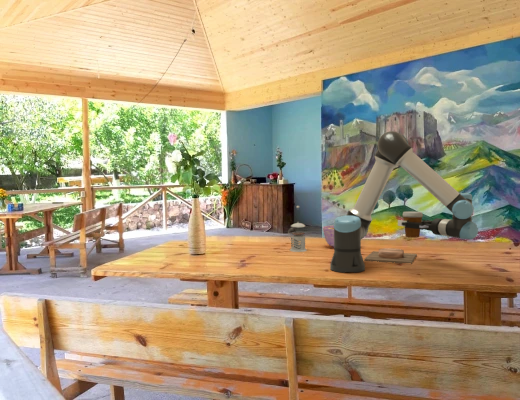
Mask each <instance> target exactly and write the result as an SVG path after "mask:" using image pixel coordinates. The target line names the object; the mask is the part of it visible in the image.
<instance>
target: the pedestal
mask: <svg viewBox="0 0 520 400" xmlns="http://www.w3.org/2000/svg"><path fill="white" fill-rule="evenodd" d="M417 256H418V254H417V253H409V252H404V249H400V248H396V247H395V248H394V247H393V248H392V247H387V248H386V247H384V248H379V249H378V251H377V250H376V251H375V250H374V251H371V252H370V253H369V254H368V255H367V256H366V257H365V258H363V261H364V262H373V261H377V262H376V263H387V262H392V264H402V263H411V264H410V265H412V264H413V263H414V261H415V260H416V258H417ZM415 257H416V258H415ZM414 259H415V260H414ZM378 261H379V262H378ZM394 262H395V263H394ZM412 262H413V263H412Z"/></svg>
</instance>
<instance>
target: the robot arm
mask: <svg viewBox="0 0 520 400" xmlns="http://www.w3.org/2000/svg"><path fill="white" fill-rule="evenodd" d="M413 150H414V149H413V147H411V145H409V141H408V139H407V138H406V136H405V135H403V134H401V133H400V132H397V131H394V130H393V131H391V130H390V131H386V132H385V133H382V134H381V135H380V137H379V138H378V141H377V150H376V153H375V154H374V159H375V162H374V164H373V166H372V168H371V171H370V173H369V174H368V177H367V178H366V181H365V183H364V185H363V187H362V190H361V192H360V193H359V195H358V198H357V200H356V202H355V204H354V206H353V207H352V208H349V209H348V211H347V213H346V215H342V216H337V217H335V219H334V220H333V222H334V223H333V225H334V248H333V255H332V256H331V257H332V258H331V261H330V264H329V265H330V270H331V271H332V272H333V271H334V272H338V273H345V272H354V273H361V272H364V271H365V270H366V264H365V261H364V258H363V254H362V252H361V251H362V250H361V249H362V248H361V245H362V240H363V239H364V238H365V237H366V236H367V234H368V231H369V227H370V225H371V223H372V221H373V218H372V214H373V212H374V209H375V208H376V205H377V203H378V202H379V199H380V197H381V196H382V193H383V191H384V189H385V187H386V184H387V183H388V180H389V179H390V177H391V174H392V172H393V171H394V169H396V168H398V167H399V166H400V168H402V169H403V170H404V171H405V172H406V173H408V174H409V175H410V176H411V177H412V178H413V179H414V180H415V181H417V182H418V183H419V184H420V185H421V186H422V187H423V188H424V189H426V191H428V192H429V193H430V194H431V195H432V196H433V197H435V199H436V200H438V201H439V202H440V203H441V204H442V205H444V206H445V207H446V209H448V211H450V212H451V213H452V219H448V218H440V217H439V218H437V217H436V218H435V219H433V220H429V219H427V220H424V219H422V221H421V223H418V222H409V220H407V221H404V219H403V220H402V219H401V220H400V219H398V220H397V226H399V227H404V229H405V228H414V229H420V231H423V230H426V231H431V232H432V234H433V235H434V236H435V235H437V236H443V237H446V238H447V239H449V238H454V239H455V238H456V239H462V240H463V239H464V240H474V239H475V238H476V237H477V236H478V233H479V227H478V225H477V224H476V222H474V221H473V219H472V215H473V213H474V206H473V195H472V194H471V193H467V192H466V193H465V192H463V193H461V192H459V191H458V190H456V189H455V188H454V187H453V186H452V185H451V184H450V183H448V181H446V180H445V179H444V178H443V177H442V176H441V175H440V174H439V173H437V172H436V170H434V169H433V168H432V167H430V166H429V165H428V164H427V163H426V162H425V161H424V160H423V159H421V157H420V156H418V155H417V154H416V153H415V152H414V151H413Z"/></svg>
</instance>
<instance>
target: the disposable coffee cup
mask: <svg viewBox="0 0 520 400" xmlns="http://www.w3.org/2000/svg"><path fill="white" fill-rule="evenodd" d="M423 216H424V214H423V212H422V211H403V212H402V217H403V221H407V220H409V222H418V223H421V221H423ZM420 232H421V229H414V228H405V227H404V233H405V234H404V235H405V238H409V239H411V238H413V239H414V238H415V239H416V238H420Z"/></svg>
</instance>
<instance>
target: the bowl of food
mask: <svg viewBox="0 0 520 400" xmlns="http://www.w3.org/2000/svg"><path fill="white" fill-rule="evenodd" d="M322 231H323V235H324V239H325V241H326V243H327V244H328V245H329V246H331V247H332V248H333V249H334V224H332V225H325V226H322Z"/></svg>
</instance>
